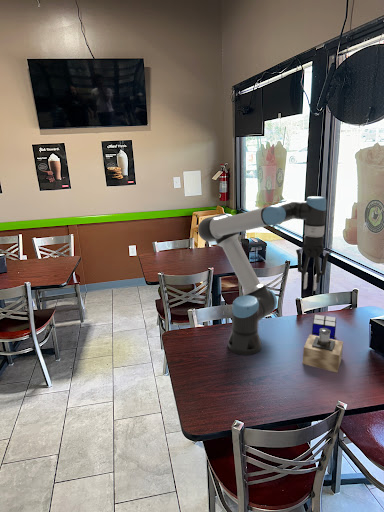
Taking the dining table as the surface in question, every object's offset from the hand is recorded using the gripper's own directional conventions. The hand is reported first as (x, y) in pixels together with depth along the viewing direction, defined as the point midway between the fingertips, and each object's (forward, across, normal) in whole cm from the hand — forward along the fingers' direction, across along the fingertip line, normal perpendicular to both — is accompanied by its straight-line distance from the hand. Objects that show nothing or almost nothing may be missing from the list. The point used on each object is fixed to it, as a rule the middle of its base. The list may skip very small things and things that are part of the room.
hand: (310, 288), depth 152 cm
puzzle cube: (+31, +5, +15) cm, 35 cm away
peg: (+24, +8, -4) cm, 26 cm away
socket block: (+31, +8, -4) cm, 32 cm away
